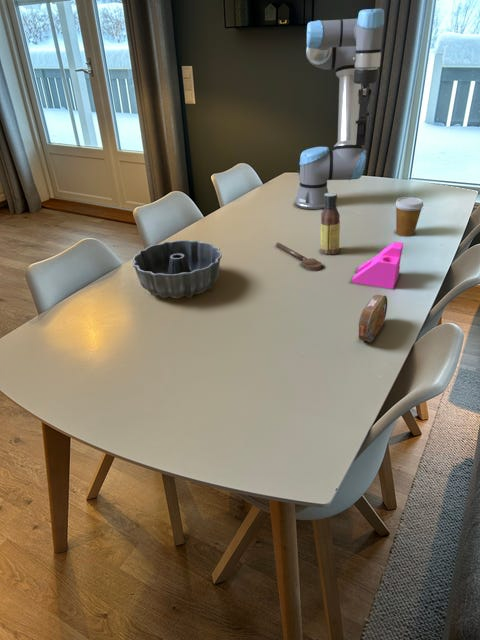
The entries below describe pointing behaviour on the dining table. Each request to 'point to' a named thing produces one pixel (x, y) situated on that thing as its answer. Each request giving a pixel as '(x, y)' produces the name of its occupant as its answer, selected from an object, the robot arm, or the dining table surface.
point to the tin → (372, 318)
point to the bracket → (381, 268)
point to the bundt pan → (178, 268)
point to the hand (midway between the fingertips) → (360, 141)
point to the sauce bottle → (330, 225)
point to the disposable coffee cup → (407, 215)
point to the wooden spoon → (302, 258)
